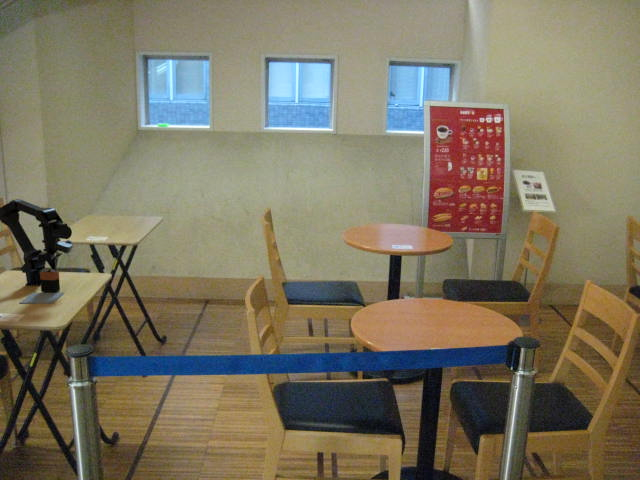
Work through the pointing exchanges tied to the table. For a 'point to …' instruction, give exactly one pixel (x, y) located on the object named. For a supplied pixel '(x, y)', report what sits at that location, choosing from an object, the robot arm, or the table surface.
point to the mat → (41, 298)
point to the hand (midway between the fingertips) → (54, 270)
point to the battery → (49, 281)
